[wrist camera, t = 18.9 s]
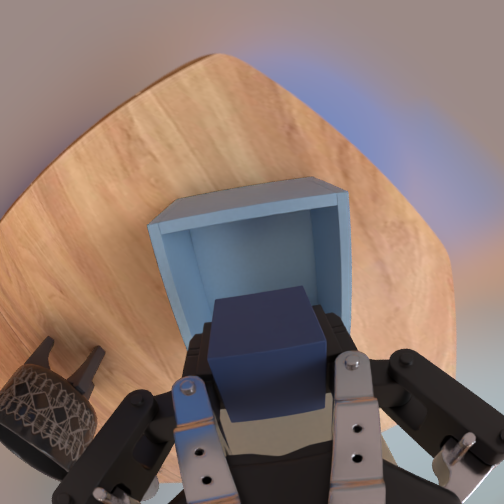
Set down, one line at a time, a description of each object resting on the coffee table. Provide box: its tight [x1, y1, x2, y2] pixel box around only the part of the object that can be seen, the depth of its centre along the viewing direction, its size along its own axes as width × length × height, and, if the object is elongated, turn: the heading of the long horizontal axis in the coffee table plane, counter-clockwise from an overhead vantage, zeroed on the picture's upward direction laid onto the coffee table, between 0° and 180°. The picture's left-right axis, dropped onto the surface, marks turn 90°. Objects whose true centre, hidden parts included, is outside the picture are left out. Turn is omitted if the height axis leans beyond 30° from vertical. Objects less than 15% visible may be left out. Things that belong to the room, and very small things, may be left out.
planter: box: [0, 336, 105, 482], centre depth 23 cm, size 13×13×18 cm
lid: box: [220, 393, 398, 466], centre depth 14 cm, size 16×13×5 cm
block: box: [207, 285, 326, 423], centre depth 11 cm, size 4×4×4 cm
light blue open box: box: [147, 177, 352, 350], centre depth 23 cm, size 16×13×9 cm
